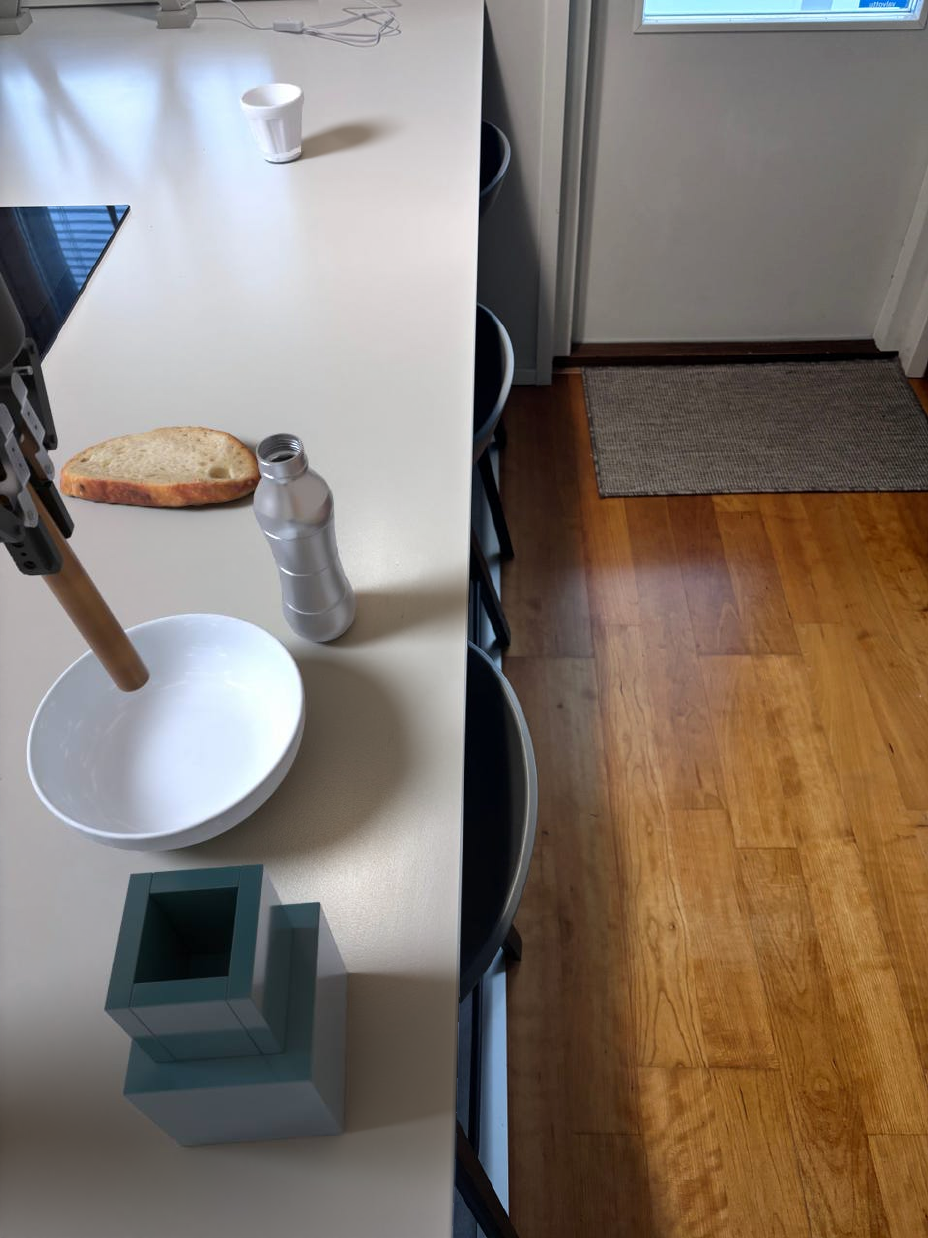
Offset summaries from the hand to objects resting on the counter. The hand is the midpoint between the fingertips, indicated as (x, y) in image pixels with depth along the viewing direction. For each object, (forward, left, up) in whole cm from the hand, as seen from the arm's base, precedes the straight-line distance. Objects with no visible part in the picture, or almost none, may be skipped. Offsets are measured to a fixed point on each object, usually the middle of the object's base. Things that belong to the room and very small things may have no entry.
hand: (50, 552), depth 53 cm
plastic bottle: (+10, +18, -28) cm, 35 cm away
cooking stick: (+1, 0, -12) cm, 12 cm away
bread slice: (-8, +40, -28) cm, 49 cm away
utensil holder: (+8, -19, -28) cm, 35 cm away
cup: (-1, +121, -28) cm, 124 cm away
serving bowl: (0, +4, -28) cm, 28 cm away
